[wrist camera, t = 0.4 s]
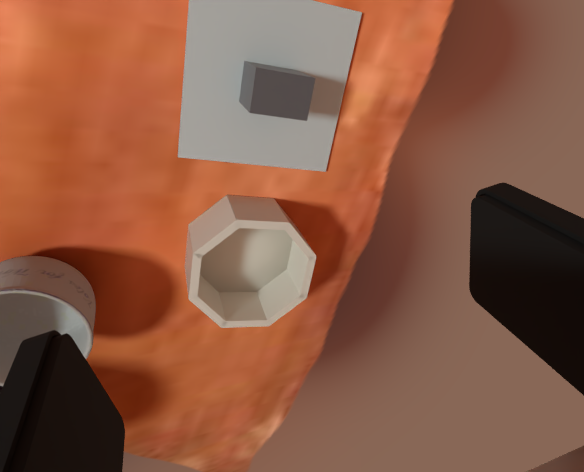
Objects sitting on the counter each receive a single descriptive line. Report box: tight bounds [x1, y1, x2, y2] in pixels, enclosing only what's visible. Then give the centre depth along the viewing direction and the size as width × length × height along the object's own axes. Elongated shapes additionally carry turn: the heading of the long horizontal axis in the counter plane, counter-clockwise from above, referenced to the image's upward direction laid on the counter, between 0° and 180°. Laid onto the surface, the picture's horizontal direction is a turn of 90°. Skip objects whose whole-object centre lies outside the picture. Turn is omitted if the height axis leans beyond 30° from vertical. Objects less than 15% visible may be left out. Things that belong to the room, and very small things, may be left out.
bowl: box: [185, 195, 316, 328], centre depth 43 cm, size 12×12×6 cm
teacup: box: [0, 256, 96, 386], centre depth 37 cm, size 14×11×8 cm
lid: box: [178, 0, 362, 172], centre depth 37 cm, size 15×15×6 cm
